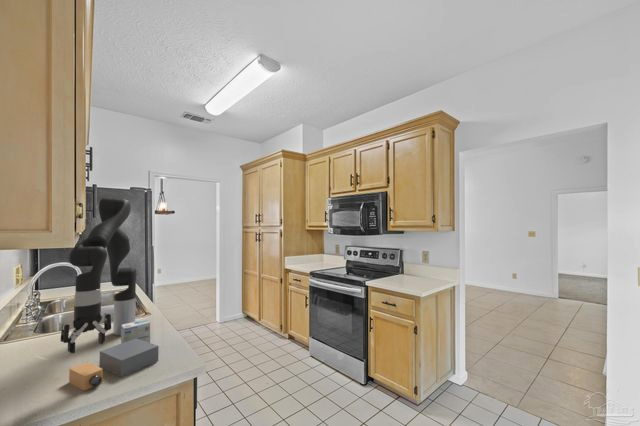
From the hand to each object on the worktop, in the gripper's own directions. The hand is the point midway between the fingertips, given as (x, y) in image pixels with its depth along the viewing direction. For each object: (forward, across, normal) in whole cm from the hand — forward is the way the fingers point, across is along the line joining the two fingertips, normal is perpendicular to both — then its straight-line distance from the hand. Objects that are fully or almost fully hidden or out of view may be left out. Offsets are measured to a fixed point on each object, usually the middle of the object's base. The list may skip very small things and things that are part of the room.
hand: (86, 348), depth 102 cm
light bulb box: (+12, -25, -15) cm, 32 cm away
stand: (+12, -15, -1) cm, 19 cm away
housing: (+12, 0, 0) cm, 12 cm away
